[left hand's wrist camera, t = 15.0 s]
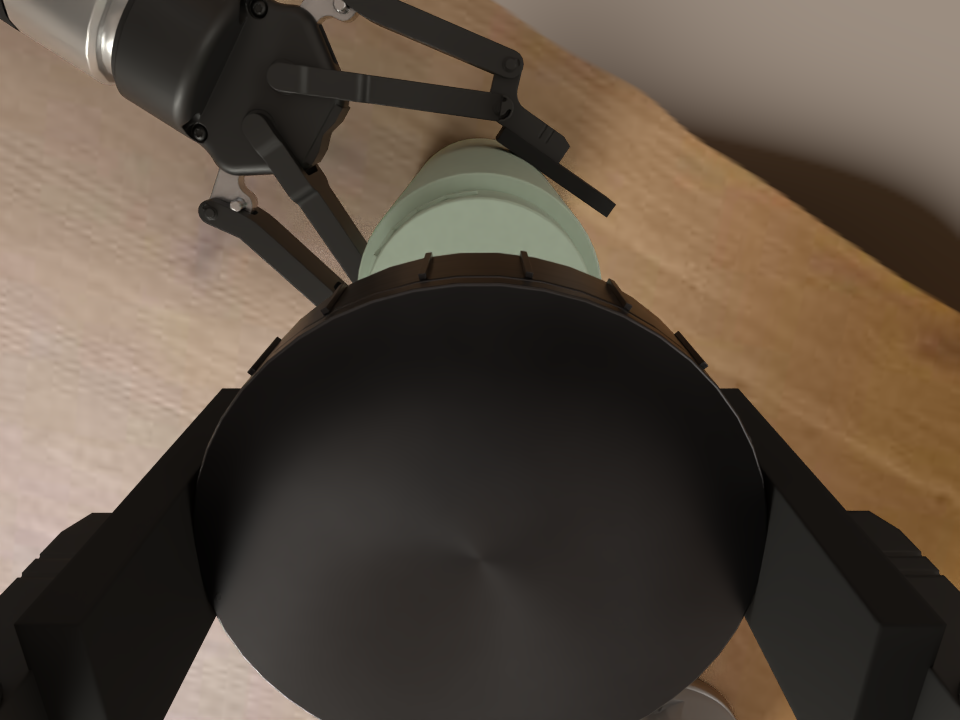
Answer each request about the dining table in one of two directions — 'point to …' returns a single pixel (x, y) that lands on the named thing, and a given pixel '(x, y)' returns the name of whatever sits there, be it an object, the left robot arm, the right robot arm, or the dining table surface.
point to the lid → (480, 501)
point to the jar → (479, 212)
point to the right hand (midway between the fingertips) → (552, 281)
